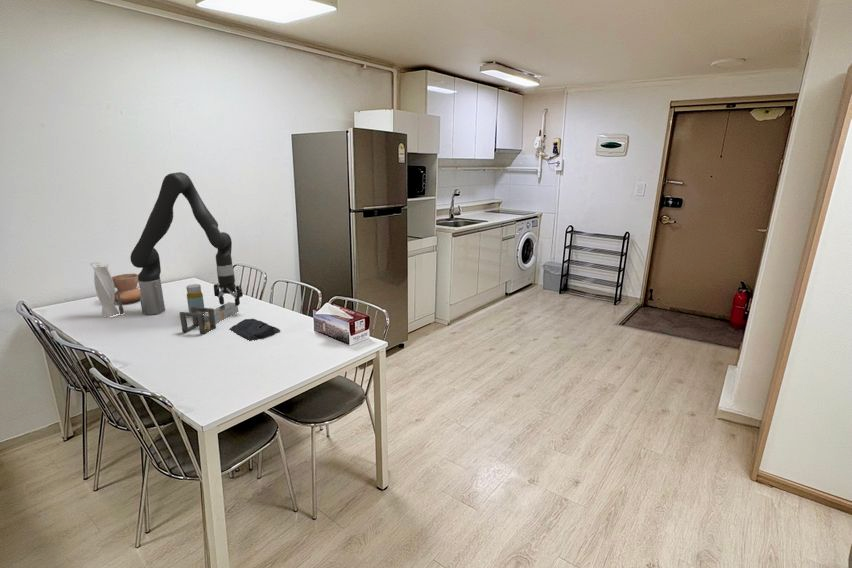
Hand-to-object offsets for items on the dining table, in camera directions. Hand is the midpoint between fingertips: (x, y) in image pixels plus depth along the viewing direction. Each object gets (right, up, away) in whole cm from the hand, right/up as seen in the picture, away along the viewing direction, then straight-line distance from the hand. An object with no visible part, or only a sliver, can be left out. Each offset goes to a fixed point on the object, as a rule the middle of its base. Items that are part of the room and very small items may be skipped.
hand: (229, 304), depth 220 cm
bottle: (-16, -5, 0) cm, 17 cm away
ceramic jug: (-63, +1, +18) cm, 66 cm away
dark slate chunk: (+20, -12, -19) cm, 30 cm away
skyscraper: (-58, -6, -3) cm, 58 cm away
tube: (-2, -7, -5) cm, 8 cm away
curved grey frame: (-5, -11, -20) cm, 23 cm away
